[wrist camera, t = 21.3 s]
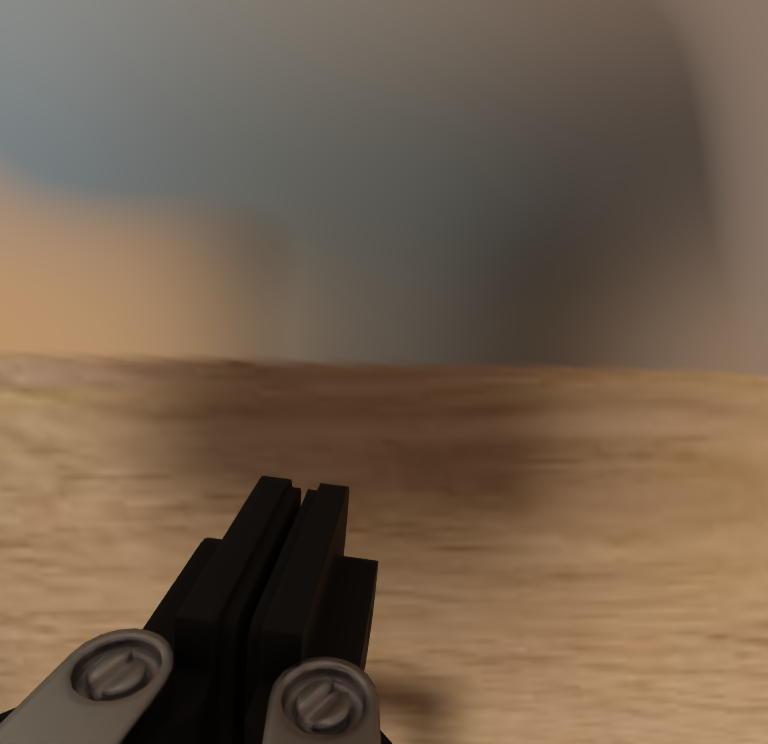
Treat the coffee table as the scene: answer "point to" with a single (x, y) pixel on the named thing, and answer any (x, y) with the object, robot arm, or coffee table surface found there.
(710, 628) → the coffee table surface
